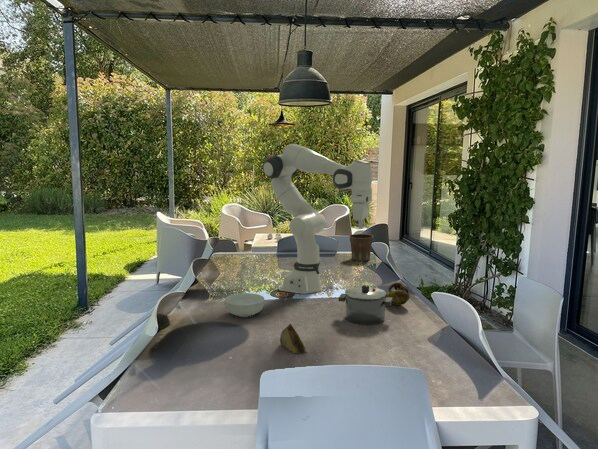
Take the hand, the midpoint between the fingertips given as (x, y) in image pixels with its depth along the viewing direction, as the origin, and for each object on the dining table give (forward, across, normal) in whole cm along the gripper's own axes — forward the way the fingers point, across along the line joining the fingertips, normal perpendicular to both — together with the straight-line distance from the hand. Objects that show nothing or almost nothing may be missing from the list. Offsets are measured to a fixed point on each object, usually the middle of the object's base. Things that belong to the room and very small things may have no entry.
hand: (361, 228), depth 198 cm
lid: (+25, +17, +5) cm, 30 cm away
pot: (+35, +17, +5) cm, 39 cm away
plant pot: (+35, -98, -17) cm, 106 cm away
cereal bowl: (+35, +27, -45) cm, 63 cm away
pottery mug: (+35, -18, +15) cm, 42 cm away
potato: (+35, -4, +16) cm, 39 cm away
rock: (+36, +55, -14) cm, 67 cm away
